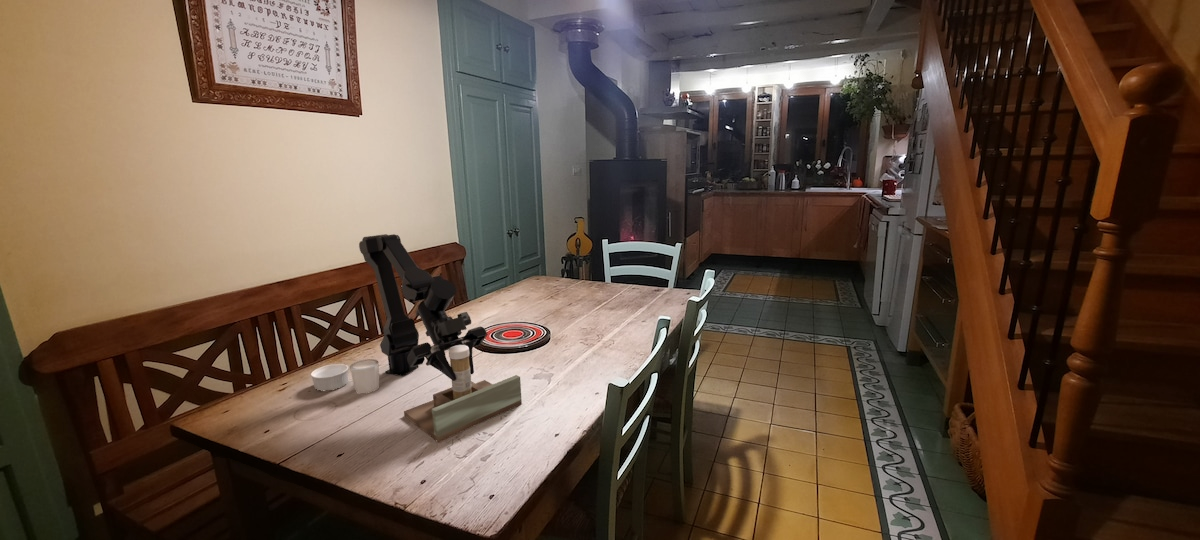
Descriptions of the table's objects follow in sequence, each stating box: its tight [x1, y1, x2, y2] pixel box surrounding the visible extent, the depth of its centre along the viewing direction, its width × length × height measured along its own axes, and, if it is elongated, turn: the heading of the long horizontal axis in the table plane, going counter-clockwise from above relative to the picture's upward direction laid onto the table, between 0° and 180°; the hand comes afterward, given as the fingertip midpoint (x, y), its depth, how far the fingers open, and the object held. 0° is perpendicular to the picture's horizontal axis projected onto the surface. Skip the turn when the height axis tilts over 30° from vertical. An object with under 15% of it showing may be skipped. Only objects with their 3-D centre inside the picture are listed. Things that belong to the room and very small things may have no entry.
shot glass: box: [349, 358, 380, 394], centre depth 127 cm, size 7×7×7 cm
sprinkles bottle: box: [448, 345, 472, 400], centre depth 114 cm, size 5×5×14 cm
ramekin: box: [310, 363, 350, 392], centre depth 130 cm, size 9×9×4 cm
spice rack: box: [403, 374, 523, 443], centre depth 116 cm, size 16×22×7 cm
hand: (463, 376), depth 114 cm, fingers closed on sprinkles bottle, 4 cm apart
